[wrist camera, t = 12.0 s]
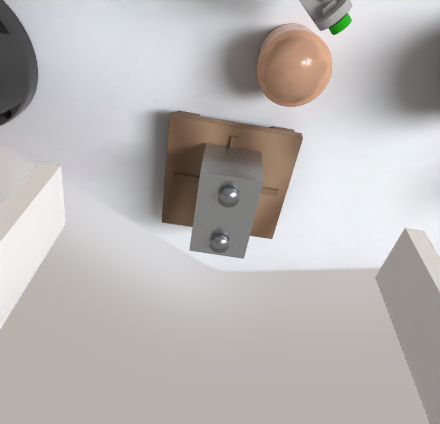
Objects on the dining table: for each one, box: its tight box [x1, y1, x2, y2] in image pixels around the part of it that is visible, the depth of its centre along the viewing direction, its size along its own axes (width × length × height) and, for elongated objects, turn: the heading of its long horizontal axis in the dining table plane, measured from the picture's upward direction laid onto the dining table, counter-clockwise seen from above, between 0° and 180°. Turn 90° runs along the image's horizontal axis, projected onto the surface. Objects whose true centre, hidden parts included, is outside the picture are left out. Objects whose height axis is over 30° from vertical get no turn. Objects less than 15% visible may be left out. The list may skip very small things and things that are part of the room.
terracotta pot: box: [257, 23, 332, 107], centre depth 36 cm, size 7×7×5 cm
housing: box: [190, 143, 264, 259], centre depth 41 cm, size 10×6×7 cm, turn 171°
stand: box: [162, 111, 303, 239], centre depth 45 cm, size 14×14×3 cm
